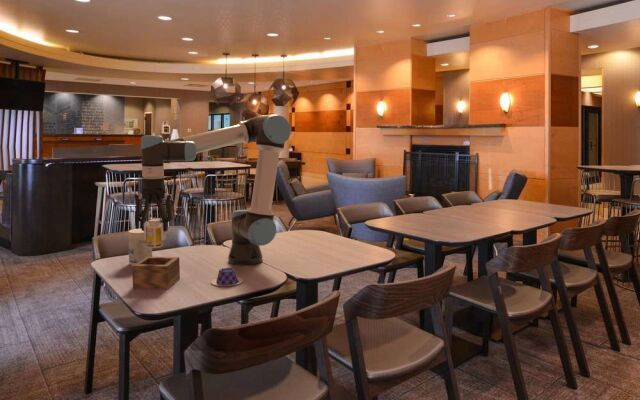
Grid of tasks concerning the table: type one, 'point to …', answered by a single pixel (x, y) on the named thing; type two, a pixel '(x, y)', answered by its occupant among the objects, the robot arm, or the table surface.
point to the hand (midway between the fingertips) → (155, 239)
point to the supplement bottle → (154, 234)
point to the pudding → (226, 277)
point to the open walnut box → (156, 272)
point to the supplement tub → (137, 246)
